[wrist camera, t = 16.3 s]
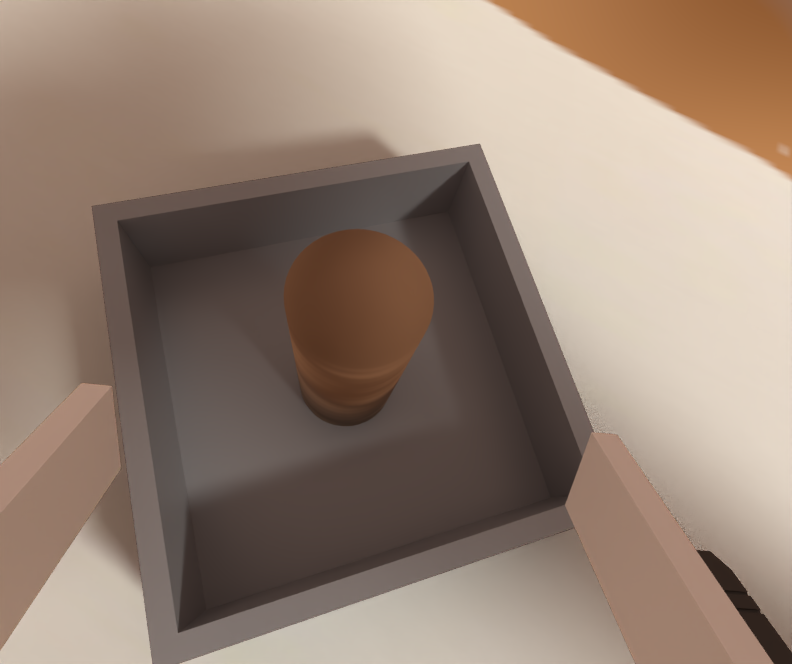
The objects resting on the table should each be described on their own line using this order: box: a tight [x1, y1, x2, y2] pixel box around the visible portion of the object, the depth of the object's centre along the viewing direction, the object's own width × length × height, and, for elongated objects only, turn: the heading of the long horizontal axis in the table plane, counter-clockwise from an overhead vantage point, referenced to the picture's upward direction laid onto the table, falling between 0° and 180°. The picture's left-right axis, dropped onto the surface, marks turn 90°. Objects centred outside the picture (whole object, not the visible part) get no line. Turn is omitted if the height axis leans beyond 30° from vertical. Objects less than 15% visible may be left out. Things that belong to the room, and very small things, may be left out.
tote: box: [92, 144, 594, 664], centre depth 27 cm, size 20×20×6 cm
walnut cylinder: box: [284, 229, 434, 426], centre depth 23 cm, size 5×5×12 cm
